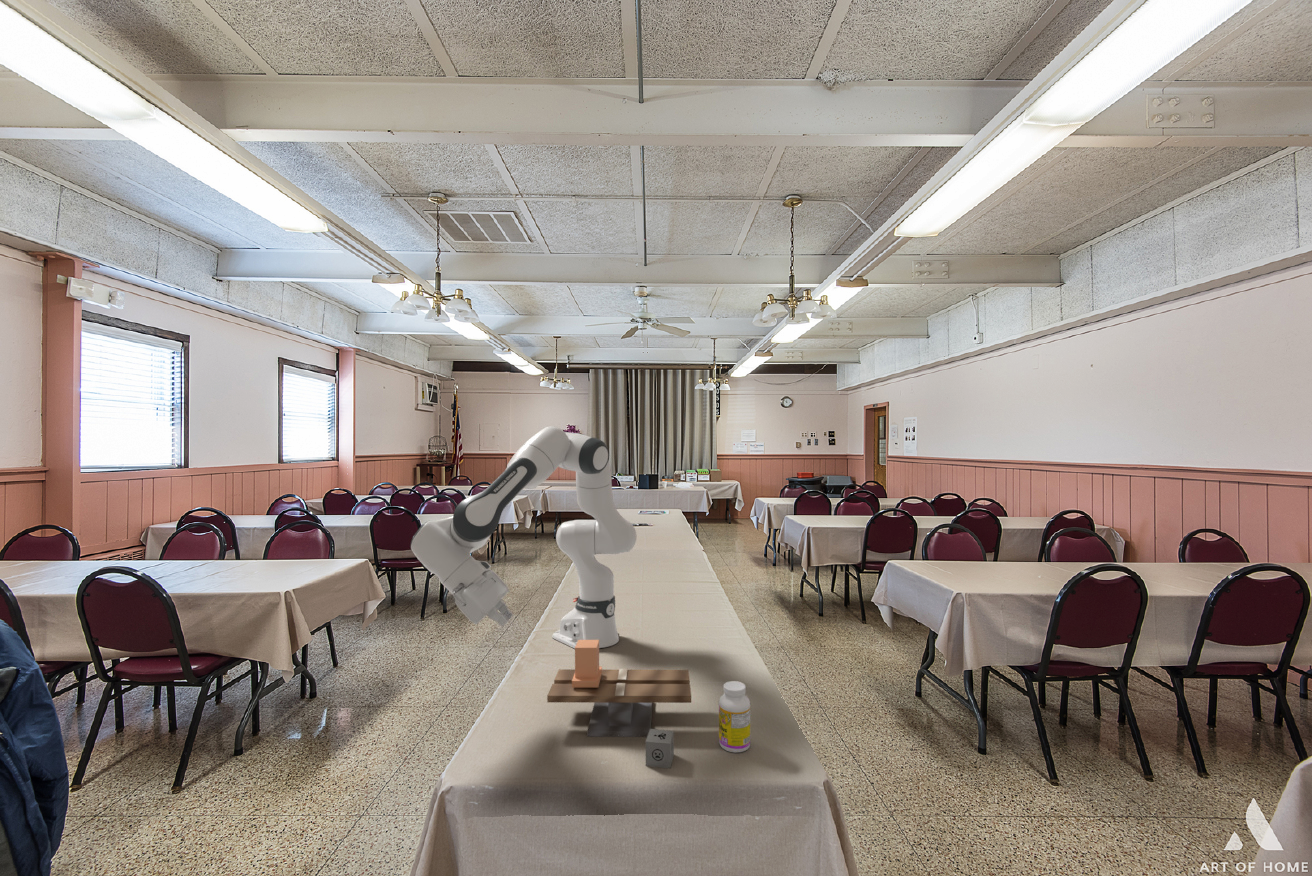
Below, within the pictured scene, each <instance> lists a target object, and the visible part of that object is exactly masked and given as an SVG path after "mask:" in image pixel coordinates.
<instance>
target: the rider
mask: <svg viewBox="0 0 1312 876" xmlns="http://www.w3.org/2000/svg"><path fill="white" fill-rule="evenodd" d="M574 670H575V674H574V677H573V679H572V687H599V683H600V679H601V675H602V670H603V666H600V648H599V640H578V642H577V644H576V646H575V648H574Z"/></svg>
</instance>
